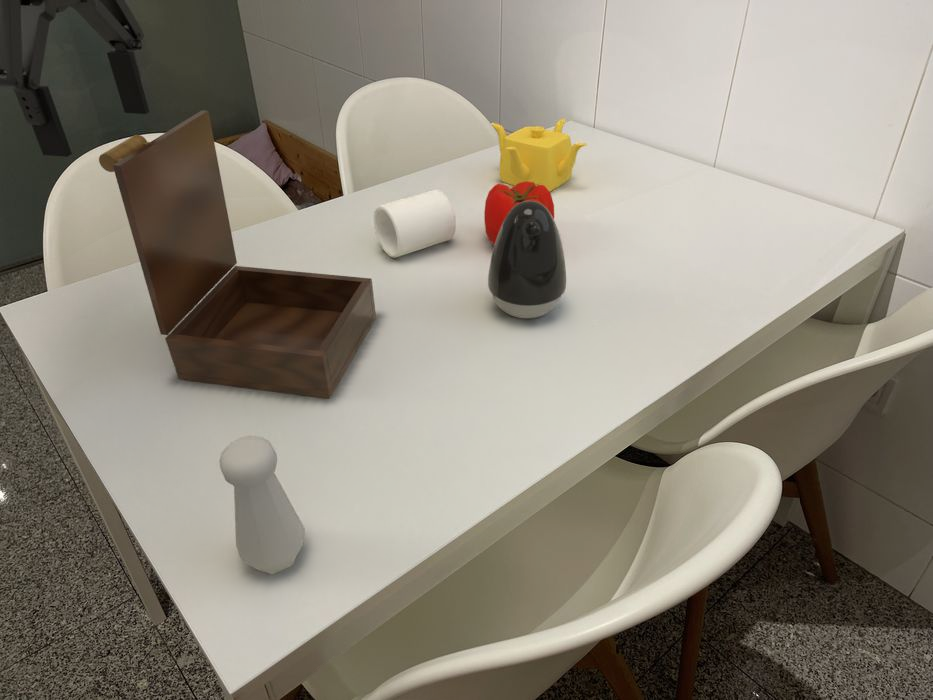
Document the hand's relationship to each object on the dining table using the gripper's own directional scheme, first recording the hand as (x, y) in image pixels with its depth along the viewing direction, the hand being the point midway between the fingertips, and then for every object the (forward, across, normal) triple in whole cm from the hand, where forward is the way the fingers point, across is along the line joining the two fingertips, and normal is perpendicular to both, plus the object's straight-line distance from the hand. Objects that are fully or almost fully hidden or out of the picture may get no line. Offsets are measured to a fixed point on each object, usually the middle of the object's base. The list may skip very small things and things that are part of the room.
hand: (100, 132), depth 74 cm
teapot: (+26, +58, -40) cm, 76 cm away
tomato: (+26, +33, -41) cm, 59 cm away
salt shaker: (+27, -29, -28) cm, 49 cm away
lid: (+10, +1, -7) cm, 12 cm away
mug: (+26, +31, -24) cm, 47 cm away
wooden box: (+26, +1, -16) cm, 31 cm away
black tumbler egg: (+26, +15, -45) cm, 54 cm away
